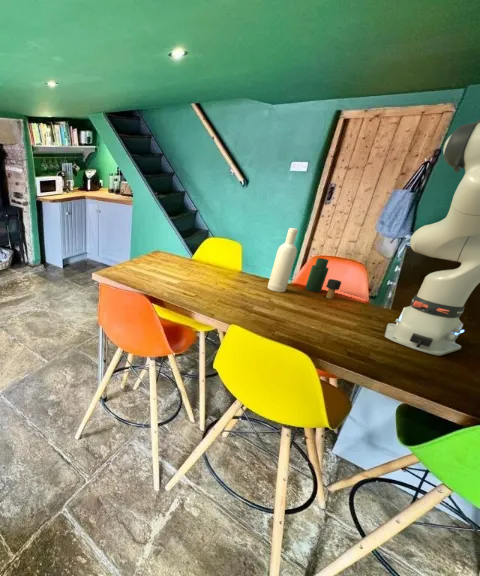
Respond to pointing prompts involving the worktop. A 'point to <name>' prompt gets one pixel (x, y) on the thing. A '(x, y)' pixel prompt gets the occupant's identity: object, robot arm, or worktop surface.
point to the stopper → (332, 287)
